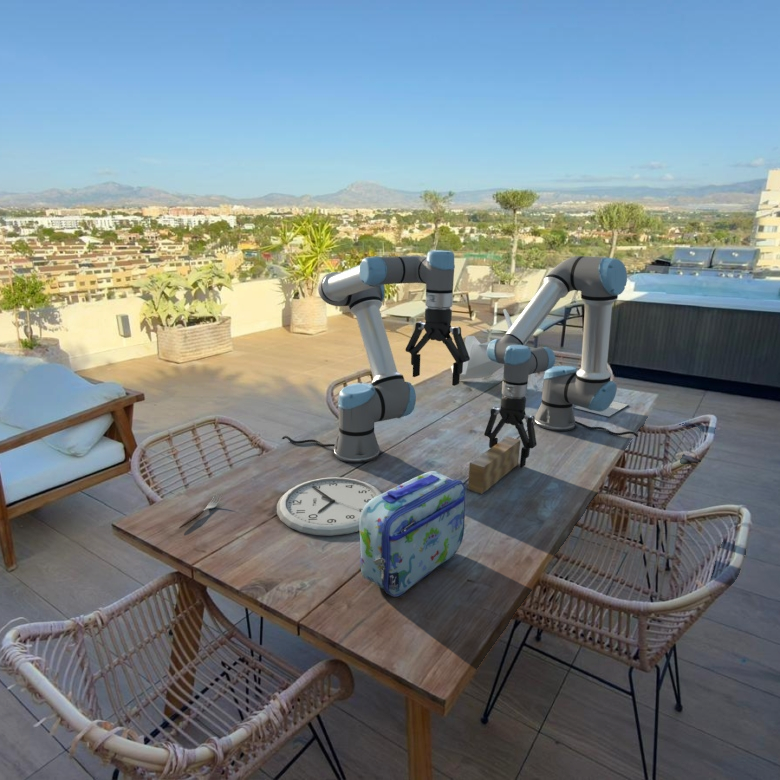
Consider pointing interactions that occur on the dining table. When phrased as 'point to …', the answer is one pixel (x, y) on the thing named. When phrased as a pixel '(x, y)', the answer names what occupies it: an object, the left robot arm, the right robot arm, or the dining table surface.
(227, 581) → the dining table surface
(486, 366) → the white plastic object
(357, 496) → the wall clock
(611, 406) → the invitation card
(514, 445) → the bar
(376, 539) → the lunch box
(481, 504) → the dining table surface
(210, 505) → the fork
